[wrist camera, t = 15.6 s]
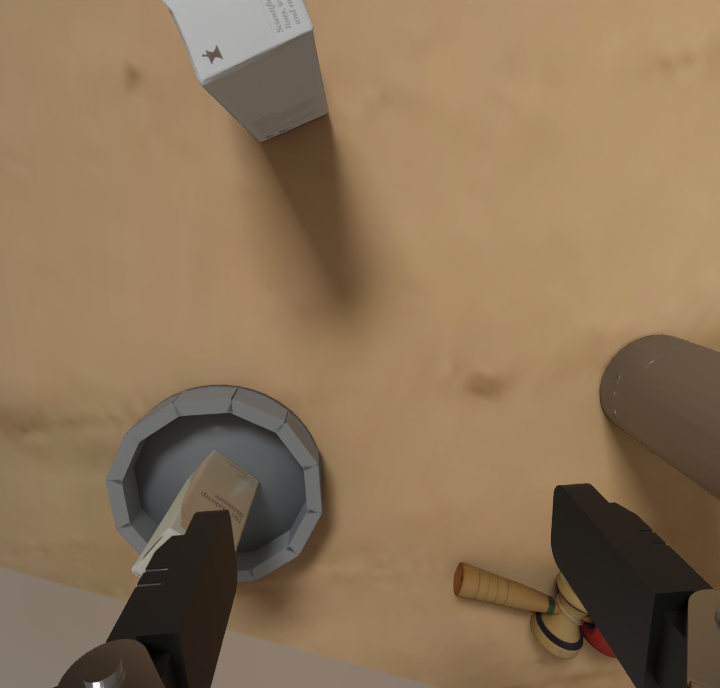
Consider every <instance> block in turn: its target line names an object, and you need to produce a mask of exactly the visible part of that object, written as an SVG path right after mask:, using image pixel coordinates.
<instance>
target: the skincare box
mask: <svg viewBox="0 0 720 688" xmlns="http://www.w3.org/2000/svg"><path fill="white" fill-rule="evenodd" d="M162 1H163V2H164V4H165V5H166V6H167V7H168V9H169V11H170V13H171V15H172V17H173V20H174V22H175V24H176V26H177V29H178V31H179V33H180V35H181V38H182V40H183V42H184V44H185V47H186V49H187V52H188V55H189V57H190V60H191V63H192V66H193V69H194V71H195V74H196V77H197V79H198V81H199V84H200V85H201V86H202V87H203V88H204V89H205V90H206V91H207V92H208V93H209V94H211V95H212V96H213V97H214V98H215V99H216V100H217V101H218V102H219V103H220V104H221V105H222V106H223V107H224V108H225V109H226V110H227V111H228V112H229V113H230V114H231V115H232V116H233V117H234V118H235V119H236V120H237V121H238V122H239V123H240V124H241V125H242V126H243V127H244V128H245V129H246V130H247V131H248V132H249V133H250V134H251V135H252V136H253V137H255V138H256V139H257V140H258V141H259V142H263V141H265V140H268V139H270V138H272V137H275V136H277V135H279V134H282V133H284V132H286V131H289V130H291V129H293V128H295V127H298V126H300V125H302V124H304V123H307V122H309V121H311V120H313V119H316V118H318V117H320V116H323V115H325V114H327V113H328V106H327V101H326V96H325V91H324V85H323V80H322V76H321V71H320V66H319V61H318V56H317V51H316V46H315V40H314V34H313V25H312V22H311V19H310V17H309V14H308V11H307V8H306V5H305V2H304V0H162Z"/></svg>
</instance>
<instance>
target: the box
mask: <svg viewBox="0 0 720 688" xmlns="http://www.w3.org/2000/svg"><path fill="white" fill-rule="evenodd" d="M258 485H259V481H258V480H257V479H255V478H254V477H253V476H251V475H250V474H248V473H247V472H246V471H244V470H243V469H242V468H240V467H239V466H237V465H236V464H235V463H233V462H232V461H230V460H229V459H228V458H226V457H225V456H223V455H222V454H220V453H219V452H218V451H216V450H213V451H212V452H211V453H210V454H209V455H208V457H207V458H206V459H205V460H204V461H203V462H202V463H201V464H200V465H199V467H198V468H197V469H196V470H195V471H194V472H193V474H192V475H191V476H190V477H189V478H188V480H187V481H186V482H185V484H184V486H183V487H182V489H181V491H180V492H179V494H178V495H177V497H176V499H175V500H174V502H173V504H172V505H171V507H170V509H169V510H168V512H167V513H166V515H165V517H164V518H163V520H162V521H161V523H160V524H159V526H158V528H157V529H156V531H155V532H154V534H153V536H152V538H151V539H150V541H149V542H148V544H147V545H146V547H145V549H144V550H143V552H142V553H141V555H140V557H139V558H138V560H137V561H136V563H135V564H134V566H133V567H132V572H133V573H134V574H135V575H137V576H139V577H140V578H141V576H142V574H143V572H145V569H146V567H147V565H148V563H149V561H150V560H151V558H152V556H153V554H154V552H155V551H156V550H157V549H158V548H159V547H160V546H161V545H162V544H163V543H165V542H166V541H167V540H168V539H169V538H170V537H171V536H174V535H184V534H185V532H186V530H187V528H188V526H189V524H190V522H191V520H192V517H193V515H194V514H195V513H196V512H200V511H214V510H228V511H229V513H230V516H231V523H232V530H233V538H234V545H235V552H236V550H237V547H238V544H239V541H240V538H241V535H242V532H243V529H244V526H245V523H246V520H247V517H248V514H249V511H250V508H251V505H252V502H253V499H254V496H255V493H256V490H257V487H258Z"/></svg>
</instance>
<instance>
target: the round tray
mask: <svg viewBox="0 0 720 688" xmlns="http://www.w3.org/2000/svg"><path fill="white" fill-rule="evenodd" d="M213 450H216V451H218V452H219V453H220V454H222V455H223V456H225V457H226V458H228V459H229V460H230V461H232V462H233V463H235V464H236V465H237V466H239V467H240V468H242V469H243V470H244V471H246V472H247V473H248V474H250V475H251V476H253V477H254V478H255V479H257V480H258V481H259V485H258V487H257V490H256V493H255V496H254V499H253V502H252V505H251V508H250V511H249V514H248V517H247V520H246V523H245V526H244V529H243V532H242V535H241V538H240V541H239V544H238V547H237V550H236V560H237V583H244V582H255V580H256V581H257V580H259V579H260V578H262V577H264V576H265V575H267V574H269V573H271V572H272V571H274V570H276V569H277V568H279V567H281V566H282V565H284V564H286V563H287V562H289V561H291V560H292V559H294V558H296V557H297V556H298V555H299V554H300V552H301V551H302V549H303V547H304V545H305V543H306V542H307V540H308V538H309V536H310V534H311V532H312V531H313V529H314V527H315V525H316V523H317V522H318V520H319V518H320V516H321V514H322V500H323V495H322V465H321V458H320V455H319V452H318V448H317V446H316V444H315V441H314V439H313V437H312V435H311V434H310V432H309V431H308V429H307V428H306V426H305V425H304V424H303V423H302V421H301V420H300V419H299V418H298V417H297V416H296V415H295V414H294V413H293V412H292V411H291V410H290V409H288V408H287V407H286V406H284V405H283V404H281V403H280V402H278V401H277V400H275V399H273V398H271V397H269V396H267V395H265V394H263V393H260V392H258V391H255V390H252V389H248V388H244V387H239V386H231V385H208V386H201V387H196V388H192V389H188V390H185V391H182V392H180V393H177V394H175V395H173V396H171V397H169V398H168V399H166V400H164V401H162V402H161V403H160V404H158V405H157V406H156V407H155V408H153V409H152V410H151V411H150V412H149V413H148V414H147V415H145V416H144V417H142V418H141V419H139V420H138V421H137V422H136V423H135V424H134V425H133V426H132V427H131V428H130V429H129V430H128V431H127V433H126V434H125V436H124V438H123V441H122V443H121V445H120V448H119V450H118V452H117V455H116V457H115V459H114V462H113V464H112V466H111V469H110V471H109V473H108V476H107V478H106V479H107V480H106V484H107V488H108V493H109V498H110V503H111V507H112V512H113V517H114V522H115V527H116V528H118V529H117V531H118V532H119V533H120V534H121V535H122V536H123V537H124V538H125V539H126V540H127V541H128V542H129V543H130V545H131V546H132V547H133V548H134V549H135V550H136V551H137V552H138V553H139V554H140V555H141V553H142V552H143V550H144V549H145V547H146V545H147V544H148V542H149V541H150V539H151V538H152V536H153V534H154V532H155V531H156V529H157V528H158V526H159V524H160V523H161V521H162V520H163V518H164V517H165V515H166V513H167V512H168V510H169V509H170V507H171V505H172V504H173V502H174V500H175V499H176V497H177V495H178V494H179V492H180V491H181V489H182V487H183V486H184V484H185V482H186V481H187V480H188V478H189V477H190V476H191V475H192V474H193V472H194V471H195V470H196V469H197V468H198V467H199V465H200V464H201V463H202V462H203V461H204V460H205V459H206V458H207V457H208V455H209V454H210V453H211V452H212V451H213Z"/></svg>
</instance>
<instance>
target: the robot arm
mask: <svg viewBox="0 0 720 688" xmlns="http://www.w3.org/2000/svg"><path fill="white" fill-rule="evenodd" d="M600 400H601V403H602V407H603V410H604V412H605V413H606V415H607V417H608V418H609V419H610V420H611V421H612V422H613V423H614V424H615V425H616V426H618V427H619V428H620V429H622V430H623V431H625V432H626V433H627V434H629V435H630V436H631V437H633V438H634V439H636V440H637V441H638V442H640V443H641V444H642V445H644V446H645V447H646V448H648V449H649V450H650V451H652V452H653V453H655V454H656V455H657V456H659V457H660V458H661V459H663V460H664V461H666V462H667V463H668V464H670V465H671V466H673V467H674V468H675V469H677V470H678V471H679V472H681V473H682V474H684V475H685V476H686V477H688V478H689V479H691V480H692V481H693V482H695V483H696V484H697V485H699V486H700V487H702V488H703V489H704V490H706V491H707V492H709V493H710V494H711V495H713V496H714V497H715V498H717V499H718V500H720V352H717V351H714V350H712V349H709V348H706V347H703V346H700V345H697V344H694V343H691V342H688V341H685V340H682V339H679V338H676V337H673V336H668V335H651V336H647V337H643V338H640V339H638V340H636V341H634V342H632V343H630V344H628V345H627V346H626V347H624V348H623V349H621V350H620V351H619V352H618V353H617V354H616V355H615V357H614V358H613V359H612V360H611V362H610V363H609V365H608V366H607V368H606V370H605V372H604V375H603V377H602V381H601V387H600ZM551 547H552V552H553V556H554V559H555V562H556V564H557V566H558V568H559V570H560V571H561V573H562V574H563V576H564V577H565V579H566V580H567V582H568V583H569V585H570V586H571V588H572V590H573V591H574V593H575V594H576V596H577V597H578V599H579V600H580V602H581V603H582V605H583V606H584V608H585V610H586V611H587V613H588V614H589V616H590V617H591V619H592V620H593V622H594V623H595V625H596V627H597V628H598V630H599V631H600V633H601V634H602V636H603V637H604V639H605V640H606V642H607V643H608V645H609V647H610V648H611V650H612V651H613V653H614V654H615V656H616V657H617V659H618V660H619V662H620V664H621V665H622V667H623V668H624V670H625V671H626V673H627V674H628V676H629V677H630V679H631V680H632V682H633V684H634V685H635V687H636V688H720V590H715V589H713V588H712V587H711V586H710V585H709V584H708V583H707V582H706V581H705V580H704V579H703V578H702V577H701V576H699V575H698V574H697V573H696V572H695V571H694V570H693V569H692V568H691V567H690V566H689V565H688V564H687V563H686V562H685V561H684V560H683V559H682V558H681V557H680V556H679V555H678V554H677V553H676V552H675V551H674V550H673V549H672V548H671V547H670V546H666V544H665V542H664V541H663V540H662V539H661V538H660V537H659V536H658V535H657V534H656V533H653V532H652V529H651V528H650V527H649V526H648V525H647V524H646V523H645V522H644V521H643V520H642V519H641V518H640V517H639V516H637V515H636V514H635V513H633V512H631V511H629V510H627V509H626V508H624V507H622V506H620V505H619V504H617V503H615V502H614V503H609V502H608V501H607V500H606V499H605V498H604V497H603V496H602V495H601V494H600V493H599V492H598V491H597V490H596V489H595V488H594V487H593V486H592V485H591V484H588V483H584V484H571V485H559V486H556V488H555V490H554V496H553V512H552V529H551ZM236 587H237V560H236V552H235V545H234V538H233V530H232V523H231V516H230V513H229V511H228V510H214V511H200V512H196V513H195V514H194V515H193V517H192V520H191V522H190V524H189V526H188V528H187V530H186V532H185V534H184V535H174V536H171V537H170V538H169V539H168V540H167V541H166V542H165V543H163V544H162V545H161V546H160V547H159V548H158V549H157V550H156V551H155V552H154V554H153V556H152V558H151V560H150V561H149V563H148V565H147V567H146V569H145V572H143V574H142V576H141V578H140V580H139V582H138V585H137V587H136V588H135V589H134V591H133V593H132V595H131V596H130V598H129V600H128V602H127V604H126V606H125V608H124V610H123V611H122V613H121V615H120V617H119V619H118V620H117V622H116V624H115V626H114V628H113V630H112V632H111V633H110V635H109V637H108V639H107V641H106V643H104V644H102V645H100V646H98V647H95V648H94V649H92V650H90V651H89V652H87V653H85V654H84V655H83V656H81V657H80V658H79V659H78V660H77V661H76V662H74V663H73V664H72V665H71V666H70V668H69V669H68V670H67V671H66V673H65V674H64V675H63V677H62V678H61V680H60V682H59V684H58V686H56V687H54V688H210V687H211V683H212V680H213V675H214V672H215V668H216V665H217V661H218V657H219V653H220V649H221V646H222V642H223V638H224V634H225V631H226V627H227V623H228V619H229V615H230V612H231V608H232V604H233V600H234V597H235V592H236Z"/></svg>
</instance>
